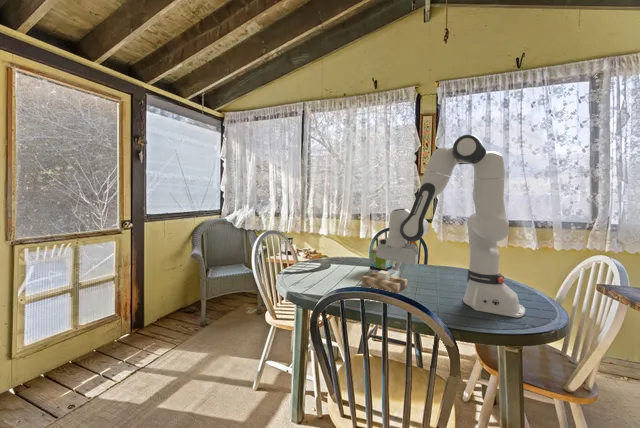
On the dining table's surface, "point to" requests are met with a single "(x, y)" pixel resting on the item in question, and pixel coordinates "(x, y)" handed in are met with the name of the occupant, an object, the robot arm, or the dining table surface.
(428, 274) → the dining table surface
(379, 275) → the block
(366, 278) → the trough
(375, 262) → the tea box
